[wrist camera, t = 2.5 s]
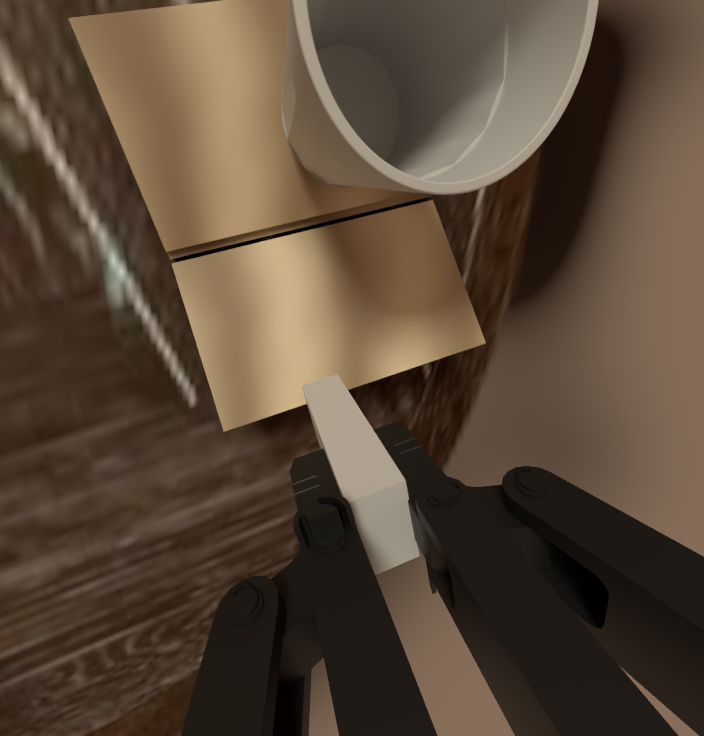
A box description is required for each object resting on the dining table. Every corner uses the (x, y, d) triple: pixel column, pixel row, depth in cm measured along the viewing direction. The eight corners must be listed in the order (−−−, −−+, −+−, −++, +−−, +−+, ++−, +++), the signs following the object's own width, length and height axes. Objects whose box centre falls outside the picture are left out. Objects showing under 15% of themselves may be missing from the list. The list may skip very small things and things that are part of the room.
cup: (406, 203, 22) (565, 191, 11) (273, 207, 20) (307, 199, 9) (410, 32, 18) (640, -218, 8) (251, 19, 17) (266, -334, 6)
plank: (228, 430, 19) (223, 431, 18) (179, 272, 19) (171, 263, 18) (475, 346, 22) (485, 343, 20) (425, 211, 22) (432, 199, 21)
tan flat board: (172, 257, 19) (169, 259, 18) (79, 32, 15) (68, 18, 14) (424, 197, 22) (433, 196, 21) (402, -7, 18) (413, -22, 17)
